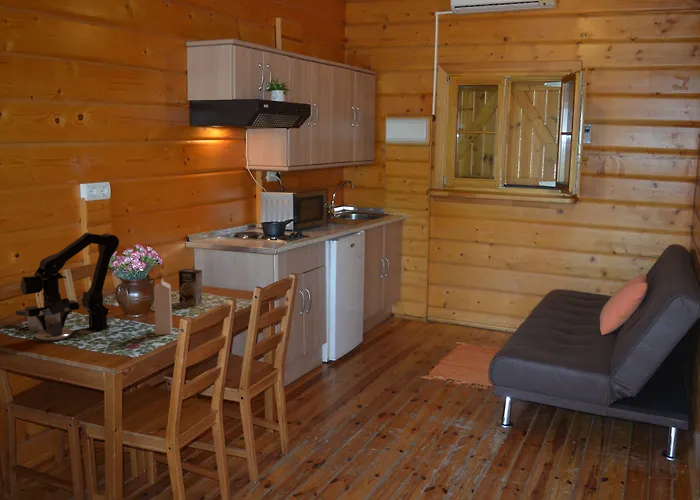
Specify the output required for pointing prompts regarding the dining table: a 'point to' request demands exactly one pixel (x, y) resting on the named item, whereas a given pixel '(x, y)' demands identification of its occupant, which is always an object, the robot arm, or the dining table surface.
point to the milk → (163, 308)
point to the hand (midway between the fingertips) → (53, 329)
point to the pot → (34, 322)
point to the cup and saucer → (53, 331)
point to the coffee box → (190, 287)
